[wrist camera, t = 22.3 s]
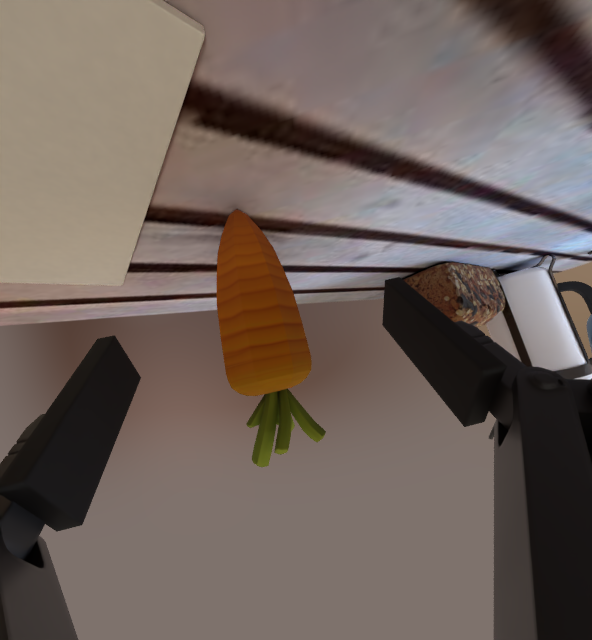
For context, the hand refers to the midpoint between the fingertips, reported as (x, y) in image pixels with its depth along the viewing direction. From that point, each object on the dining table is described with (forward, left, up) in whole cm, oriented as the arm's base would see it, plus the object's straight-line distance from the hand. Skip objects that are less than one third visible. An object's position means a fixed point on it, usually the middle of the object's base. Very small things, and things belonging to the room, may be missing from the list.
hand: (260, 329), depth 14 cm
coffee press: (+1, +60, -8) cm, 61 cm away
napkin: (+4, -13, -8) cm, 16 cm away
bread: (+7, +41, -8) cm, 43 cm away
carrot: (+2, +1, -8) cm, 9 cm away
